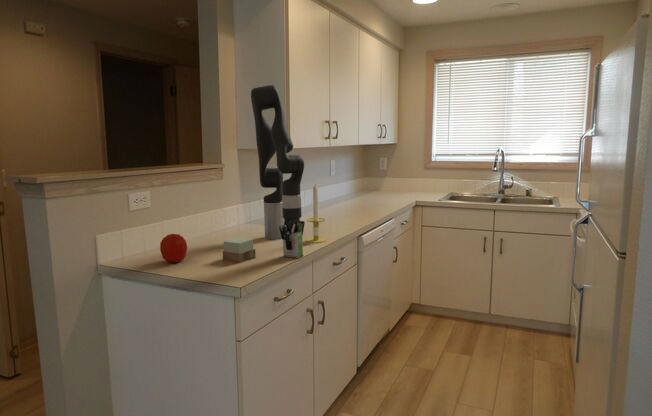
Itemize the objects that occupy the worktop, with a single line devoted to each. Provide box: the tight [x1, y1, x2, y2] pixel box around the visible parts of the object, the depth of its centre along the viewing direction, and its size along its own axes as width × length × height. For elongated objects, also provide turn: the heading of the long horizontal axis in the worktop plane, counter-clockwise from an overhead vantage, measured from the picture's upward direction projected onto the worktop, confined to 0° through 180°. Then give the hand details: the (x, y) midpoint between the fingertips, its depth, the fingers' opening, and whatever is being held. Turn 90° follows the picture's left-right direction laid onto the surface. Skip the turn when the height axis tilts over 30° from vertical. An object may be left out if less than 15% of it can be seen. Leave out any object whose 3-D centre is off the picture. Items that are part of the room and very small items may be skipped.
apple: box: [159, 233, 188, 264], centre depth 179 cm, size 10×10×12 cm
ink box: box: [282, 223, 304, 259], centre depth 184 cm, size 7×4×13 cm, turn 63°
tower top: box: [223, 236, 254, 254], centre depth 181 cm, size 8×8×4 cm
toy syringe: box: [305, 183, 328, 244], centre depth 212 cm, size 10×10×27 cm
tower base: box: [222, 248, 257, 264], centre depth 182 cm, size 9×9×4 cm
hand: (292, 248), depth 184 cm, fingers closed on ink box, 4 cm apart
